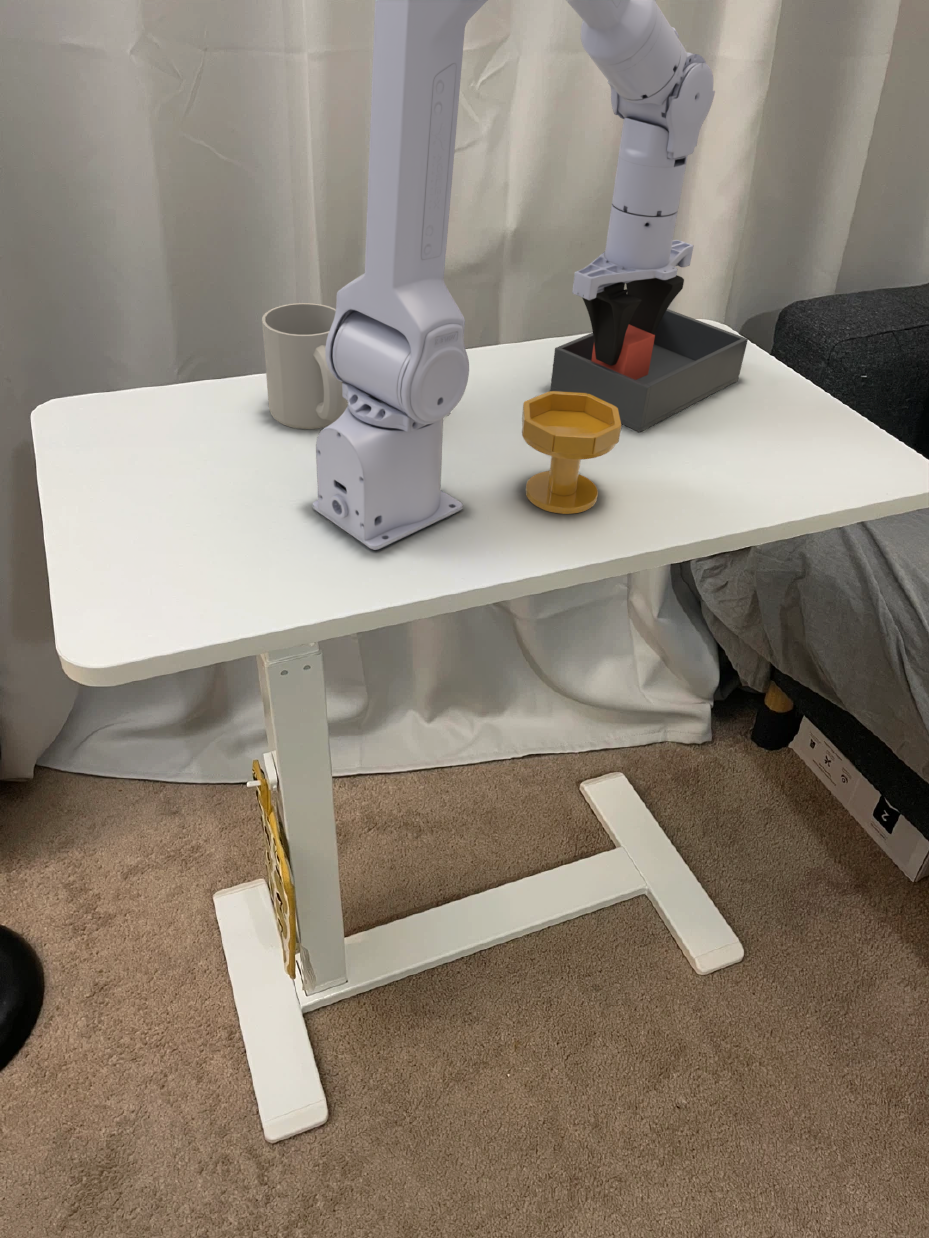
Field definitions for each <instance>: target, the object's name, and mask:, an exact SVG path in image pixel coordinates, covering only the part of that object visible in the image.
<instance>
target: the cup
mask: <svg viewBox="0 0 929 1238" xmlns="http://www.w3.org/2000/svg"><path fill="white" fill-rule="evenodd" d="M335 313H336V307H332V306H329V305H324V304H321V303H320V304H319V303H312V302H309V303H308V302H297V303H296V302H295V303H287V304H281V305H278V306H276V307H273V308H270V309H269V310H267V311H266V312H265V313H264V314H263V316H262V317H261V324H262V336H263V350H264V362H265V375H266V388H267V400H268V401H267V402H268V409H269V412H270V414H271V416H272V418H273V419H274V420H275V421H276V422H278V423H279V424H281V425H284V426H286V427H289V428H292V429H300V430H316V429H324V428H325V427H327V426H329V425H331V424H332V423H333V422H335V421H336V420H337V419H338V418H339V417H340V416H341V415H342V414H343V413H344V411H345V410H346V408H347V406H348V401H347V400H346V399H345V398H344V397H343V394H342V382H341V381H339V380H337V379H336V378H335V377H334V376H333V375H332V373H331V372H330V370H329V368H328V365H327V362H326V356H325V348H326V341H327V337H328V334H329V331H330V328H331V326H332V323H333V321H334V317H335Z"/></svg>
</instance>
